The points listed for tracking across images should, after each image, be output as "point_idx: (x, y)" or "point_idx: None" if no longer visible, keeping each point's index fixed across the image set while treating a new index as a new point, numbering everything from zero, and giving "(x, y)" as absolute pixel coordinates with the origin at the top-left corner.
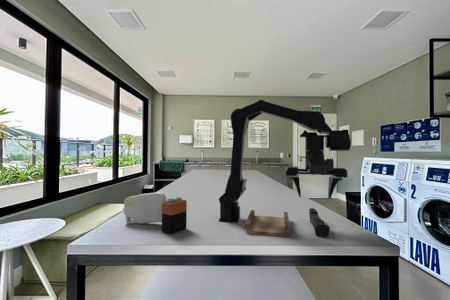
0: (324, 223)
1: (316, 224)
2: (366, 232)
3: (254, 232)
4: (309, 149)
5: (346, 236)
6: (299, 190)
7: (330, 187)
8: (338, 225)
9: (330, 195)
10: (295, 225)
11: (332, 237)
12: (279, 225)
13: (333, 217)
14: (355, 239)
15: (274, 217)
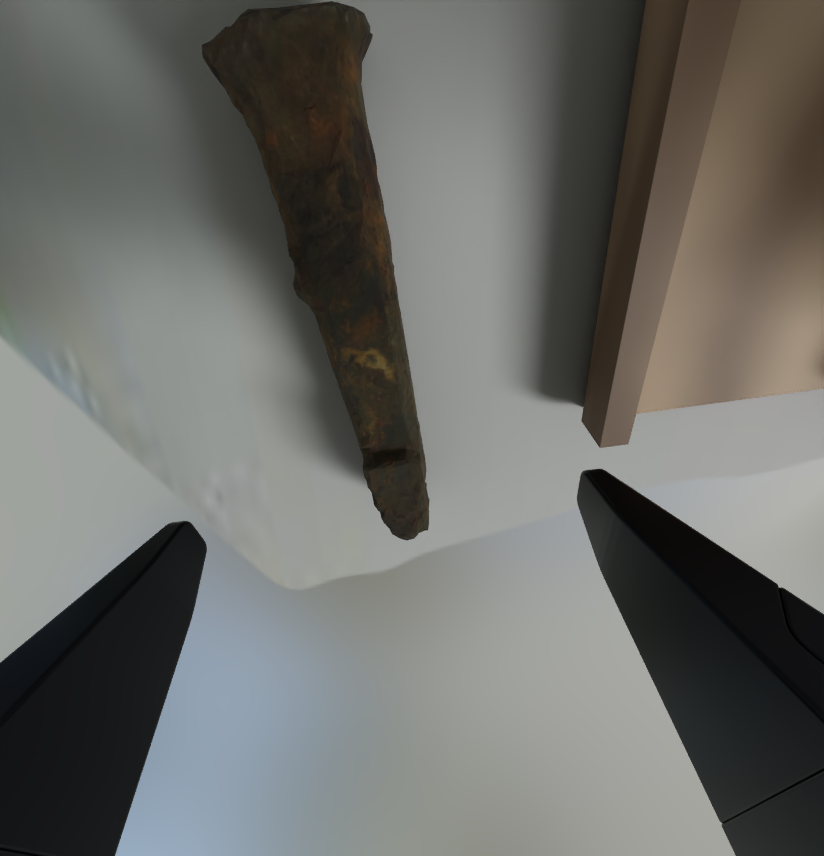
0: (275, 184)
1: (354, 112)
2: (32, 348)
3: None
4: None
5: (117, 171)
6: (671, 545)
7: (26, 706)
8: (237, 427)
9: (138, 558)
10: (528, 315)
11: None
12: (712, 156)
13: (290, 551)
14: (22, 105)
15: (685, 390)
